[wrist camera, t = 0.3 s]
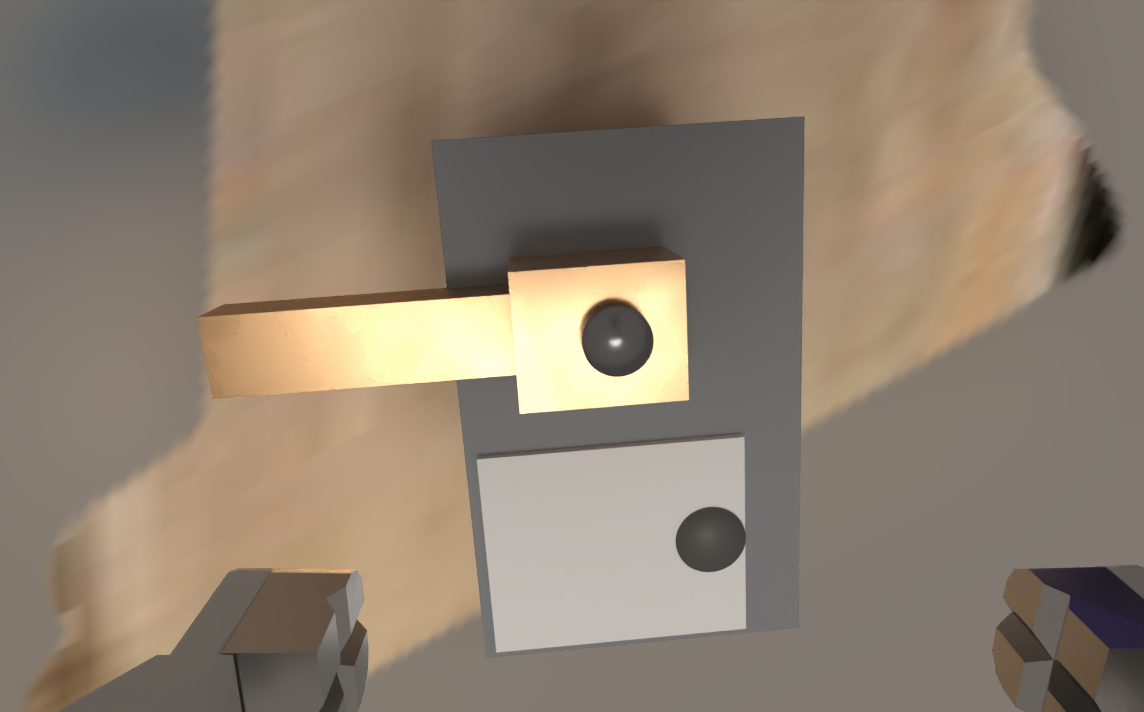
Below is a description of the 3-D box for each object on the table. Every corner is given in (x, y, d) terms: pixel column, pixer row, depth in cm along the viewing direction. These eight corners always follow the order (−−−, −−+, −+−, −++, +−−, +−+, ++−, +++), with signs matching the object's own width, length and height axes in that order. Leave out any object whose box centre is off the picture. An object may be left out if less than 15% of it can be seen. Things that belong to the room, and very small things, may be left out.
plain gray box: (473, 148, 54) (429, 140, 28) (672, 135, 54) (809, 115, 29) (501, 445, 59) (485, 665, 33) (681, 430, 60) (802, 634, 34)
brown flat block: (218, 278, 29) (161, 301, 24) (663, 246, 30) (690, 262, 25) (241, 404, 30) (191, 448, 26) (668, 370, 31) (693, 407, 27)
